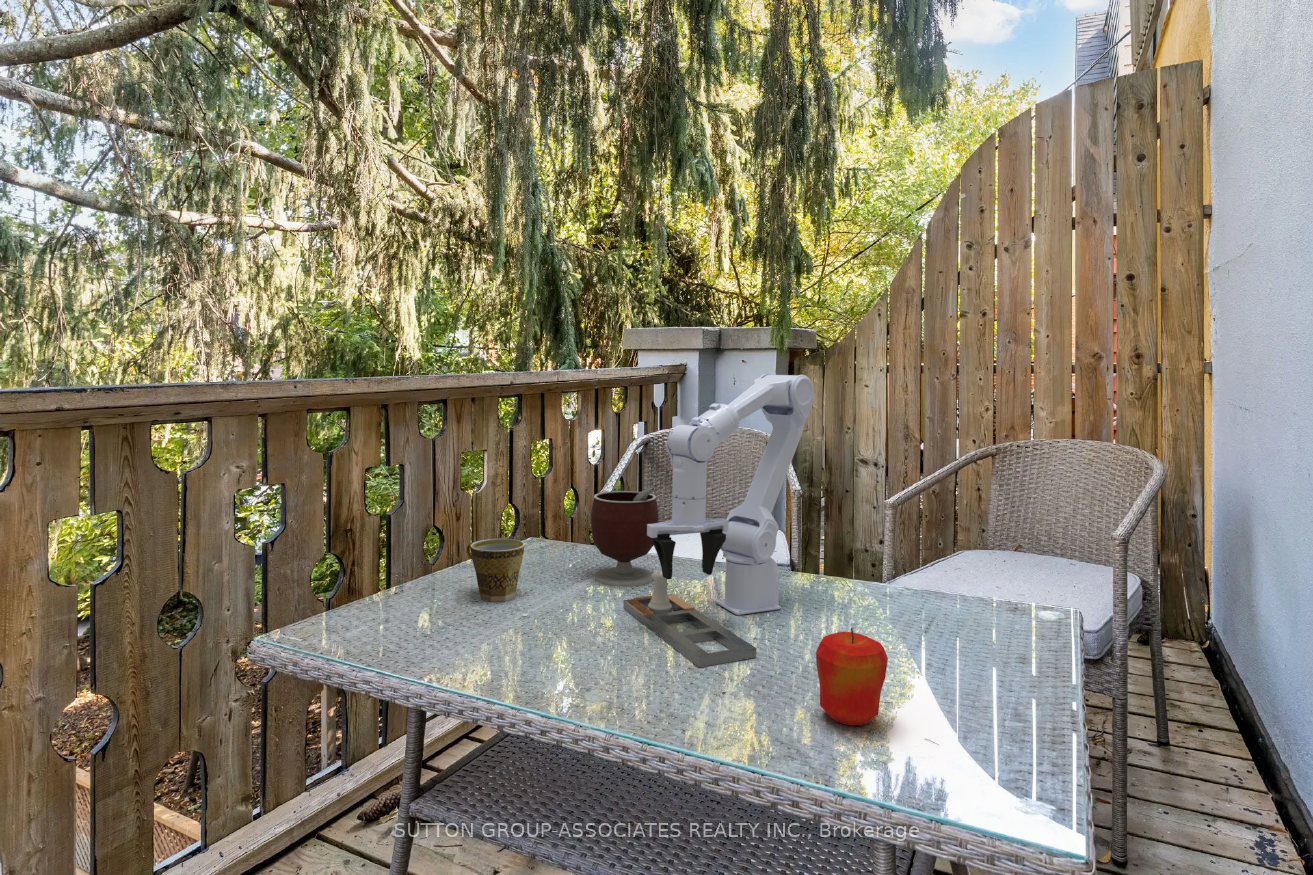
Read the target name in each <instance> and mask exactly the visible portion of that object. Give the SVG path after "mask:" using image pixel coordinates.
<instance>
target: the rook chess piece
mask: <svg viewBox="0 0 1313 875" xmlns="http://www.w3.org/2000/svg"><path fill="white" fill-rule="evenodd" d="M652 573H653V574H652V575H651V576H652V578H653V582H652V586H653V589H652V595H651V596H652V599H651V600H650V601H651V602H650V603H649V604H648V607H647V608H648V609H650V610H651V611H652V612H654V614H659V613H666V612H673V610H671V608H672V606H671V603H670V601H669V600H668V595H669V594H668V585H669V583H668V579H666V578H664V577H663V574H662V569H661V568H658V567H657V568H655V569H653V571H652Z"/></svg>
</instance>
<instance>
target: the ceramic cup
mask: <svg viewBox="0 0 1313 875" xmlns="http://www.w3.org/2000/svg"><path fill="white" fill-rule="evenodd" d="M525 546H526V544H525V542H523V541H521V540H519V539H514V538H487V539H482V540H481V539H480V540H478V541H474V542H470V543H468V545H467V546H466V553H467V555H468V557H469V558H470V559H471V561H472V564H473V567H474V568H473V569H474V570H475V571H474V572H475V575H476V576H475V578H476V581H477V582H476V583H477V587H478V588H477V589H478V592H479V593H478V594H479V598H480V600H482V601H485V600H486V601H485V602H489V603H490V602H491V603H495V602H508V601H510V600H513V599H515V598H516V595H517V594H516V593H517V589H518V582H519V577H520V571H521V566H522V563H523V559H524V552H525ZM507 600H508V601H507Z"/></svg>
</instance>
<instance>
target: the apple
mask: <svg viewBox="0 0 1313 875" xmlns="http://www.w3.org/2000/svg"><path fill="white" fill-rule="evenodd" d="M815 660H816V669H817V676H818V682H819V706H820V707H821V708H822V710H823V711H824V712H825V713H826V714H827V715H828V716H829V717H830V718H831V719H832V720H834V721H835V722H837V723H840V724H843V725H848V726H854V725H859V726H862V725H865V724H867V723H869V722H870V721H871V720H873V719H875V718H876V717H878V716H879V714H880V713H879V711H880V703H881V702H880V701H881V693H882V690H883V686H884V683H885V680H886V676H887V675H886V674H887V670H888V669H887V668H888V660H889V656H888V654H887V652H886V650H885V648H884V646H883V645H882V644H881V642H880V641H878V640H875V639H873V638H871V637H869V636H867V635H864V634H861V633H856V632H854V629H853V627H851V628H850V631H838V632H835V633H834V632H833V633H830V634H827V635H825V636H823V637H822V639H821V641H820V642H819V644H818V646H817V648H816V651H815Z"/></svg>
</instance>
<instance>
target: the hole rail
mask: <svg viewBox="0 0 1313 875" xmlns="http://www.w3.org/2000/svg"><path fill="white" fill-rule="evenodd" d="M651 599H652V595H647V596H638V597H633V598H631V599H624V600H623V606H622V608H623V610H625V611H626V612H628V613H629V614H630V615H631V616H632V617H634V618H635V619H636V620H637V621H638V622H640V623H642V624H643V625H644V626H645V627H647V628H648V629H649V630H650V631H651V632H653V633H654V634H655V635H656V636H658V637H659V638H660V639H662V640H663V641H664V642H666V643H667V644H669V646H671V647H672V648H673V649H675V650H676V651H677V652H679V653H680V654H681V655H682V656H684V657H685V658H686V659H688V660H689V661H690V662H691V663H693V665H695V666H696V667H697V668H704V667H709V666H714V665H715V666H716V665H723V664H727V663H728V664H729V663H734V662H738V661H737V660H740V661H744V660H743V659H746V660H748V659H747V658H751V659H754V658H753V657H756V658H757V647H756V646H754V645H752V644H751V643H749V642H748V641H745V639H743V638H741V637H740V636H738V635H737V634H735V633H733V632H732V631H730V630H729V629H728V628H726V627H724V626H722V625H721V624H719V623H718V622H716V621H715V620H713V619H711V617H708V616H707V615H705V614H704V613H702V612H701V611H699V610H697V609H696V607H694V606H693V605H691V604H690V603H688V602H687V601H685V600H684V599H682V598H680V597H679V596H677V595H676V594H673V593H671V594H668V600H669V601H670V603H671V606H672V608H671V609H670V610H671V611H672V612H666V613H659V614H654V612H652V611H651V610H650V609H649V608H648V604H649V603H650V602H651V601H650V600H651ZM685 622H689V623H690V624H692V625H693V626H695V627H696V628H698V629H693V630H687V631H686V630H684V631H678V630H677V629H676V628H674V626H671V625H670V624H677V623H678V624H679V623H685ZM708 641H717V642H718V643H720V644H721V645H723V646H725V647H726V650H718V651H713V652H707V651H706V650H704V649H703V648H702V647H700V646H699V645H698V644H697V643H702V642H708Z"/></svg>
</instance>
